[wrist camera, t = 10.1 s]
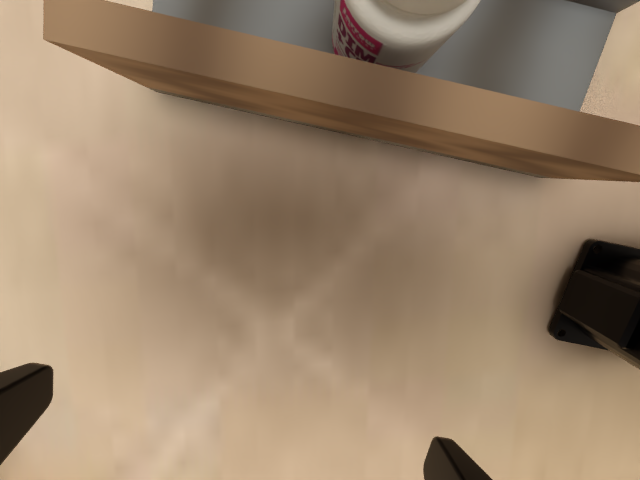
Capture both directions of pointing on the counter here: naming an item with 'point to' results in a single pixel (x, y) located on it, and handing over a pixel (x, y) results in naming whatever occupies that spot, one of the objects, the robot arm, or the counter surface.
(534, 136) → the cleat board
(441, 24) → the pill bottle
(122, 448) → the counter surface
